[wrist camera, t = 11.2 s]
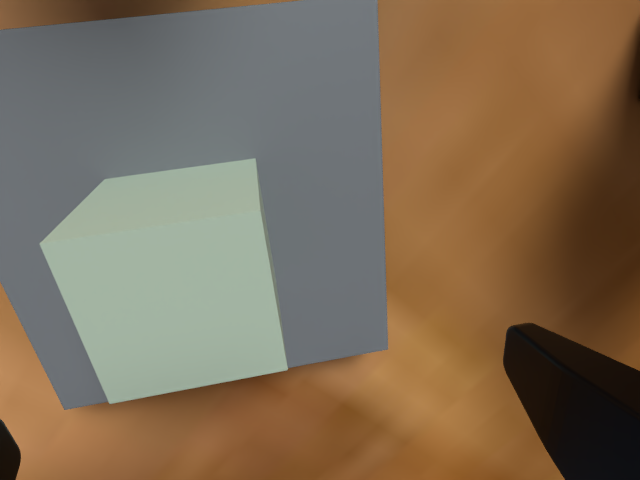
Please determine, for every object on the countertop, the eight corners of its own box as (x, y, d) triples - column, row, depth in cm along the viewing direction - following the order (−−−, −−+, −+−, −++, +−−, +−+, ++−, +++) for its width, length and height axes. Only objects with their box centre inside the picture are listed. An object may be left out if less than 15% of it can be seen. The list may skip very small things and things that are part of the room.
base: (354, 1, 16) (377, -7, 13) (370, 311, 22) (387, 349, 19) (-52, 41, 14) (-120, 41, 12) (88, 361, 20) (64, 409, 18)
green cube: (255, 158, 14) (260, 210, 10) (276, 281, 17) (288, 370, 12) (104, 179, 14) (39, 243, 10) (146, 303, 16) (109, 404, 12)
